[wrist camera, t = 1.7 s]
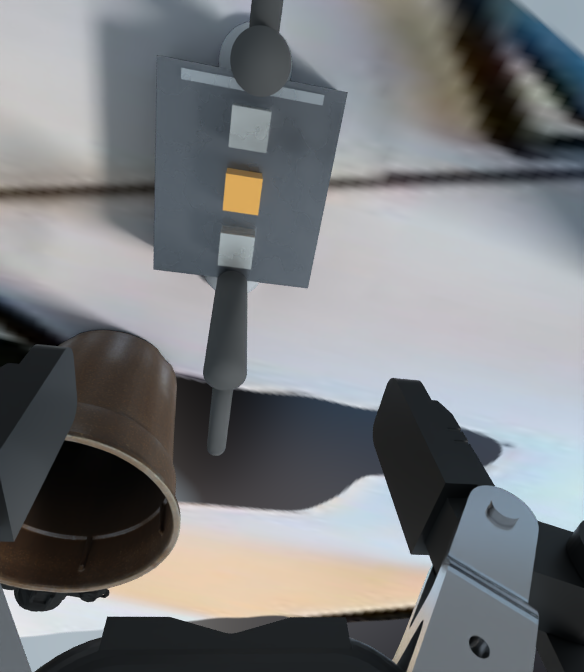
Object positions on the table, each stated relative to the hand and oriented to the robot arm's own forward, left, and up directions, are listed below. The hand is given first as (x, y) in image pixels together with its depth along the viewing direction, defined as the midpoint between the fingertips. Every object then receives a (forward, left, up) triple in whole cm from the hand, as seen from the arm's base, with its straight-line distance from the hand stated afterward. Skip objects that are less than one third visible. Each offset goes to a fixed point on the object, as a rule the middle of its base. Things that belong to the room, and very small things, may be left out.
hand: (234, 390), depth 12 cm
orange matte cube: (0, 0, -23) cm, 23 cm away
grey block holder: (0, 0, -27) cm, 27 cm away
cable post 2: (0, +10, -27) cm, 29 cm away
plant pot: (+10, +21, -28) cm, 36 cm away
